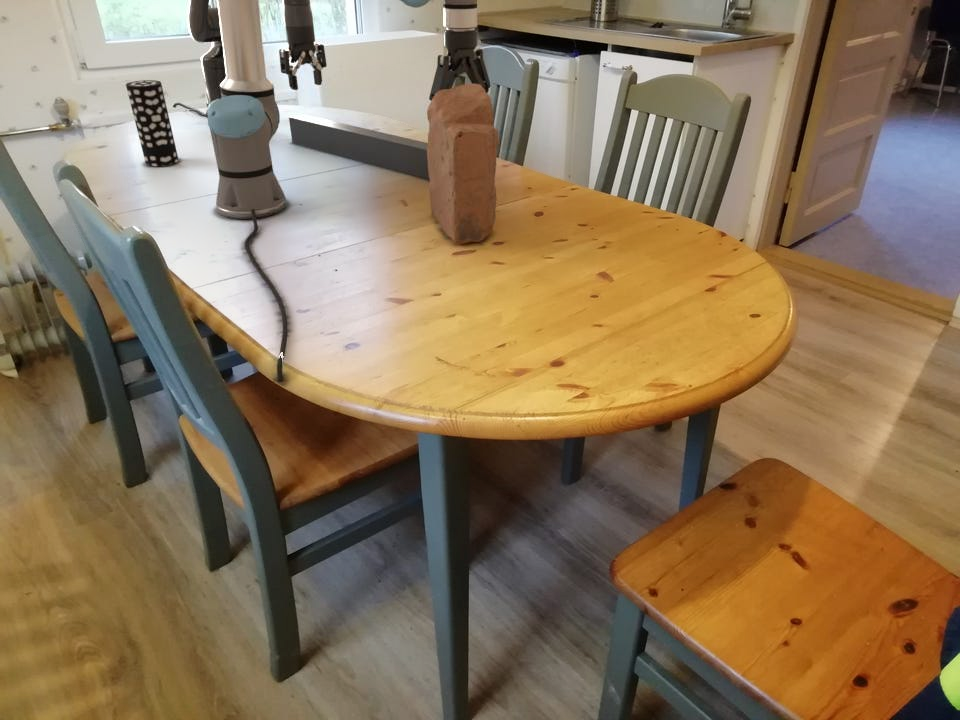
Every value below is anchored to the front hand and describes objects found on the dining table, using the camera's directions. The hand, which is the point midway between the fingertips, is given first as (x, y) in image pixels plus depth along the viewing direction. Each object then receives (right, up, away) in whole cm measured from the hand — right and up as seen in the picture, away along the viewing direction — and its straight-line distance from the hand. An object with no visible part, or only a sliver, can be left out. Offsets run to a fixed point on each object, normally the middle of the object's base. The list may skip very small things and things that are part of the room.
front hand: (461, 125), depth 166 cm
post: (-22, -3, +22) cm, 31 cm away
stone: (+1, -27, -16) cm, 32 cm away
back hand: (-44, +20, +27) cm, 55 cm away
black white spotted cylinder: (-81, +6, +15) cm, 83 cm away
